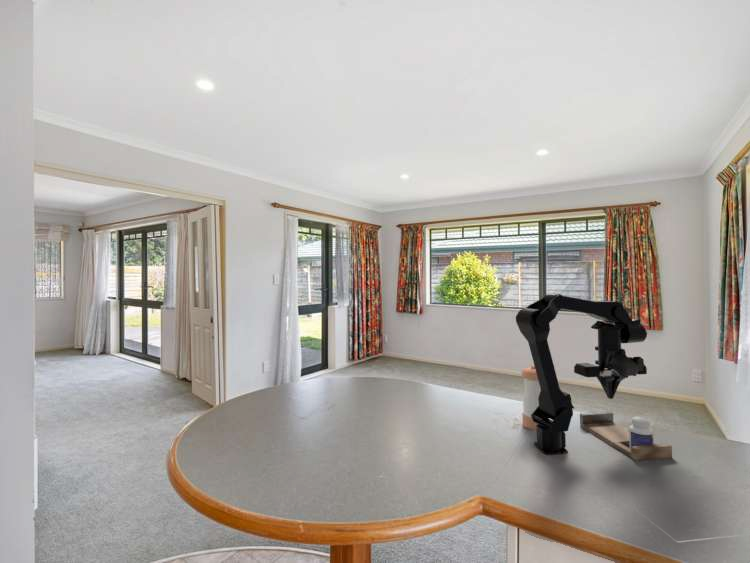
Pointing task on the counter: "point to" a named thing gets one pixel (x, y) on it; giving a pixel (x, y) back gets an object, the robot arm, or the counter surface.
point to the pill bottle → (640, 432)
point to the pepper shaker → (530, 396)
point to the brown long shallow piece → (621, 437)
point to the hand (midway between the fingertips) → (610, 398)
